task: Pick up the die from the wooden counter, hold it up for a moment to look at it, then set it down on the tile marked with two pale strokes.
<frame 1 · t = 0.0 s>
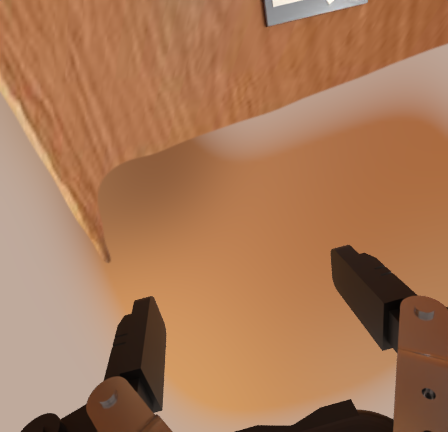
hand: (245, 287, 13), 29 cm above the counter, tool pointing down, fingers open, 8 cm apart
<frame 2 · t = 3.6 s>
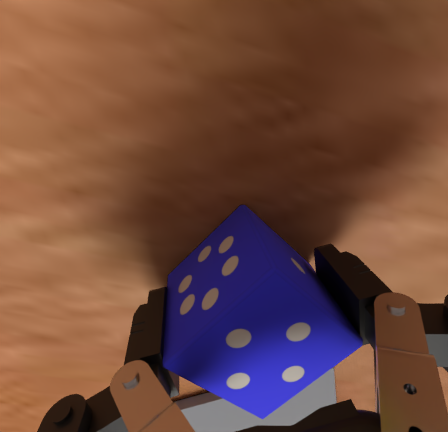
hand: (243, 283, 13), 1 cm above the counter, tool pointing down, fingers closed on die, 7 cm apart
die: (239, 267, 14), on the counter, touching gripper
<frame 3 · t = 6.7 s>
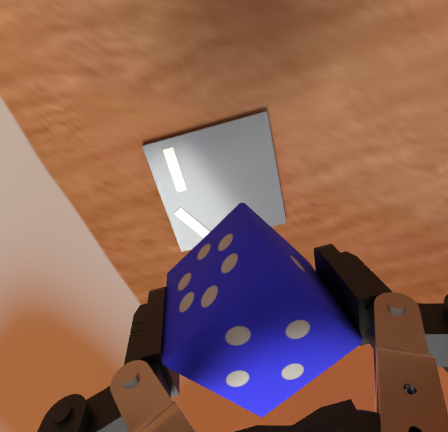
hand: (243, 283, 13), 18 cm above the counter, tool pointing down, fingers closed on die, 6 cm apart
die: (239, 265, 14), point 17 cm above the counter, touching gripper
code tile: (219, 185, 31), on the counter
when the fingers open (3 cm above the counter, at t = 10.2 s): die drops 1 cm, resting on code tile.
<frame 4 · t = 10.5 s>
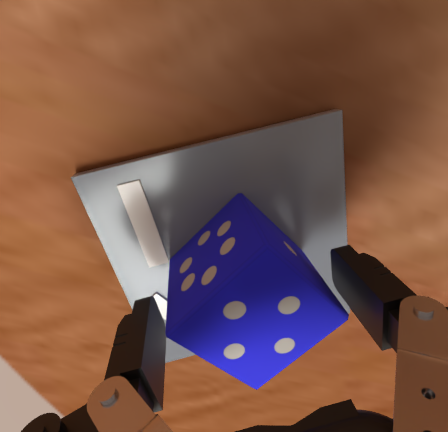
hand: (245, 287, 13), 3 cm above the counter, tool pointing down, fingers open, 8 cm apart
die: (236, 253, 15), resting on code tile
code tile: (233, 251, 16), on the counter
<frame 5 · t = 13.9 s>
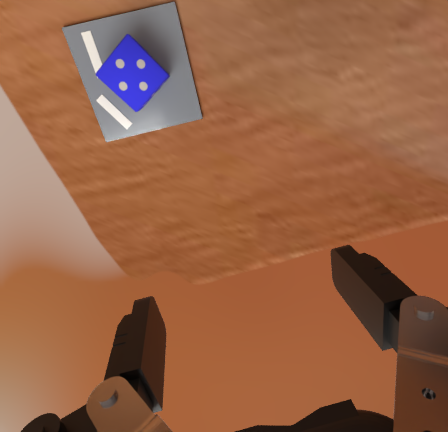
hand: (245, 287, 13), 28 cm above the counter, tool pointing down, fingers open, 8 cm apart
die: (138, 75, 33), resting on code tile
code tile: (138, 77, 34), on the counter
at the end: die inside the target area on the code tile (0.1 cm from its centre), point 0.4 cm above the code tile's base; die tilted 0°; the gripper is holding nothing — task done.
